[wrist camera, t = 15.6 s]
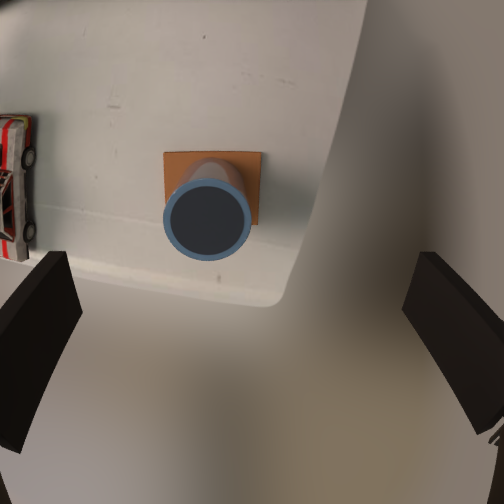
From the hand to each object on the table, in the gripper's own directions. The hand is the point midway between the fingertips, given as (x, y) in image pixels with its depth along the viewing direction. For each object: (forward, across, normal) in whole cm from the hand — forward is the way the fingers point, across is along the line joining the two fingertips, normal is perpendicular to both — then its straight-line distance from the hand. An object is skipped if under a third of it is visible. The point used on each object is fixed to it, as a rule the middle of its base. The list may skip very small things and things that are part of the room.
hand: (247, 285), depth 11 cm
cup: (+23, -2, -3) cm, 23 cm away
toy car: (+23, -28, -2) cm, 37 cm away
